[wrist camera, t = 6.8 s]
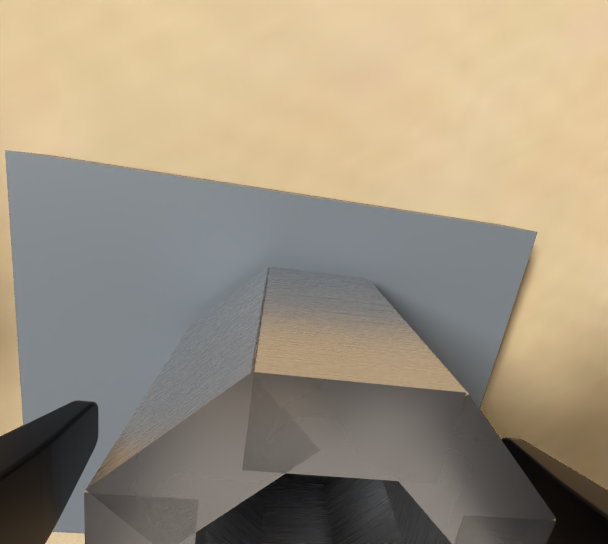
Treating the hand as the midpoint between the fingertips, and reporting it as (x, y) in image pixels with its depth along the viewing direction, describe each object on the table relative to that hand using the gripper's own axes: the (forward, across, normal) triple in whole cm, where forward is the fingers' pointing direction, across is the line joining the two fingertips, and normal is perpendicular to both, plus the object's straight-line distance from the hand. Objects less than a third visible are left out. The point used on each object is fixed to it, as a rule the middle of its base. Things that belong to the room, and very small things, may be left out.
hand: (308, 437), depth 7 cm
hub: (+2, 0, 0) cm, 2 cm away
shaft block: (+4, +1, +1) cm, 5 cm away
